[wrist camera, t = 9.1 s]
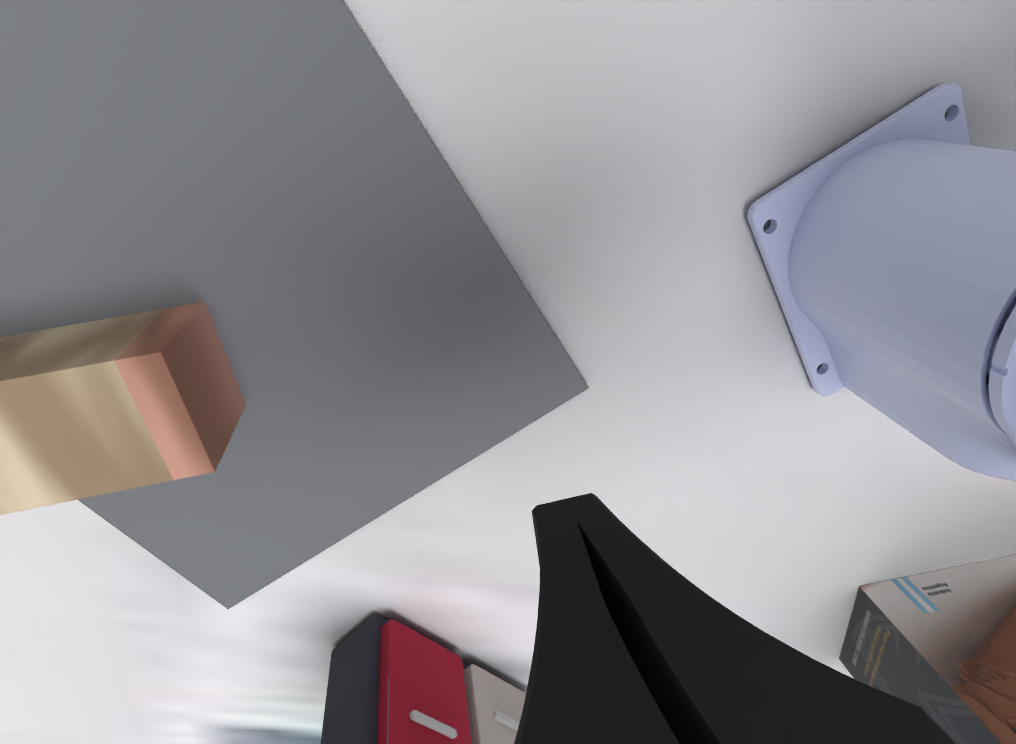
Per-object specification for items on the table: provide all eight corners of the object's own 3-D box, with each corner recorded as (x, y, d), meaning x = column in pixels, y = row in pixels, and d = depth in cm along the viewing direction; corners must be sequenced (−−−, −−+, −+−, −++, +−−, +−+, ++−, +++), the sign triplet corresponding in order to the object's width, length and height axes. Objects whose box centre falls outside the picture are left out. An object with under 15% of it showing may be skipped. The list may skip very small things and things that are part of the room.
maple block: (160, 352, 16) (-164, 410, 15) (214, 471, 17) (-71, 528, 17) (204, 301, 19) (-56, 346, 18) (246, 405, 21) (11, 450, 20)
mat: (586, 384, 23) (588, 387, 23) (229, 603, 25) (228, 609, 25) (209, -211, 14) (205, -217, 14) (-306, 209, 16) (-318, 211, 16)
